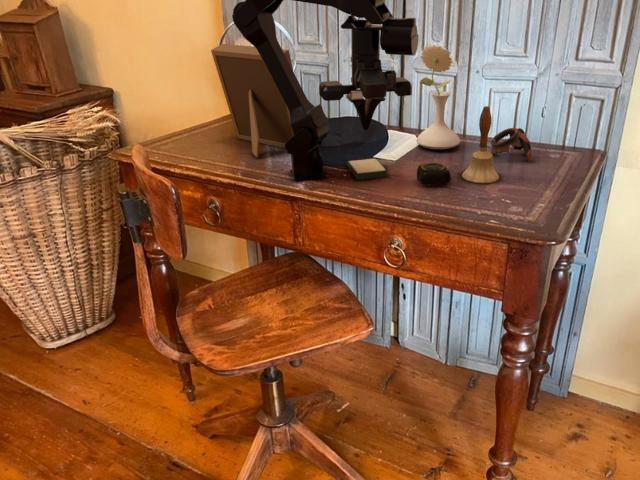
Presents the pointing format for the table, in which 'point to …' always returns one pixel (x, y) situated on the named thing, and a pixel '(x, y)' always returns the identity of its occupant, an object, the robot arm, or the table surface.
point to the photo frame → (252, 96)
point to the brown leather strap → (512, 142)
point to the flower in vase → (437, 102)
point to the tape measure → (433, 174)
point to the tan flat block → (366, 169)
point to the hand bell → (482, 155)
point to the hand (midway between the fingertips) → (365, 129)
